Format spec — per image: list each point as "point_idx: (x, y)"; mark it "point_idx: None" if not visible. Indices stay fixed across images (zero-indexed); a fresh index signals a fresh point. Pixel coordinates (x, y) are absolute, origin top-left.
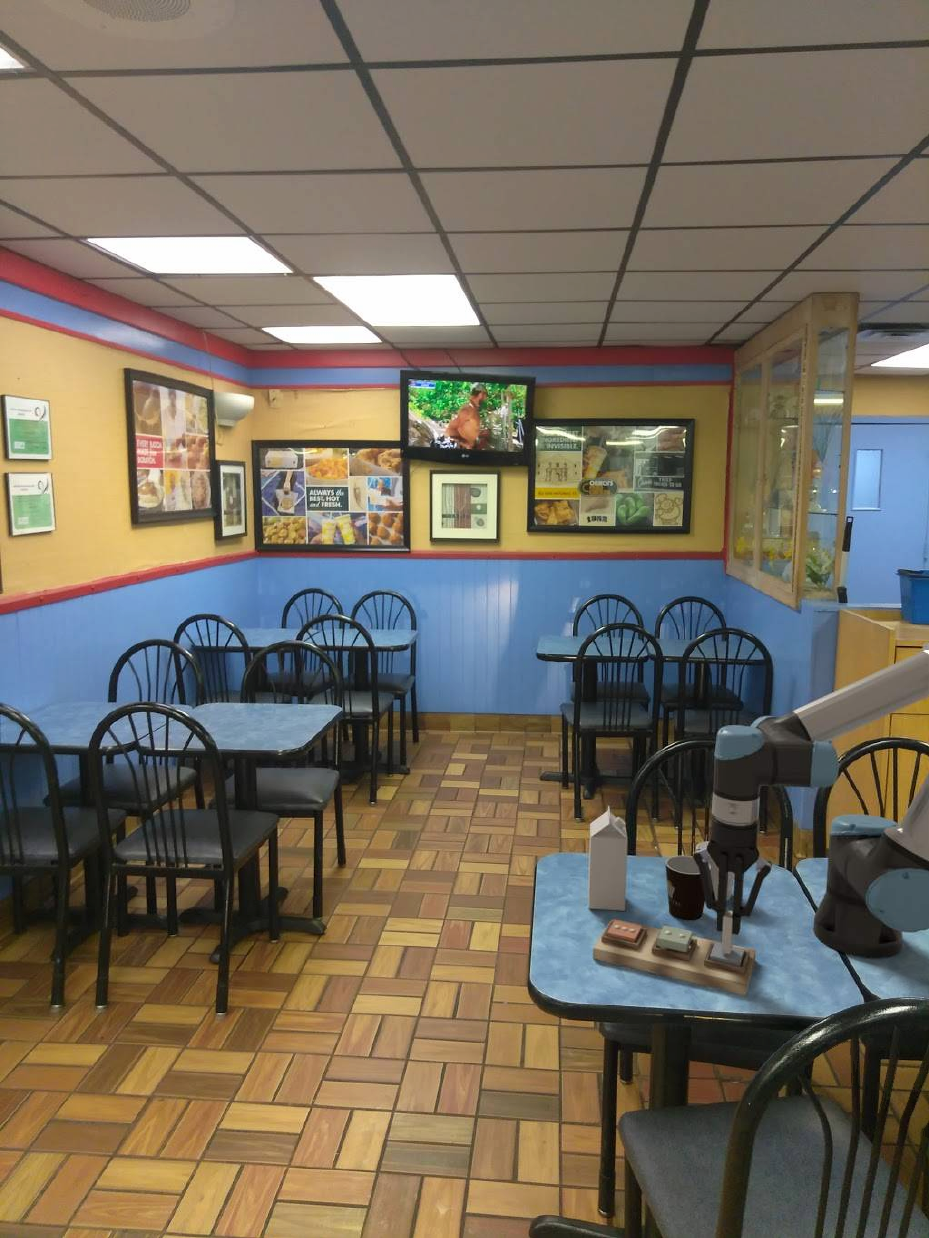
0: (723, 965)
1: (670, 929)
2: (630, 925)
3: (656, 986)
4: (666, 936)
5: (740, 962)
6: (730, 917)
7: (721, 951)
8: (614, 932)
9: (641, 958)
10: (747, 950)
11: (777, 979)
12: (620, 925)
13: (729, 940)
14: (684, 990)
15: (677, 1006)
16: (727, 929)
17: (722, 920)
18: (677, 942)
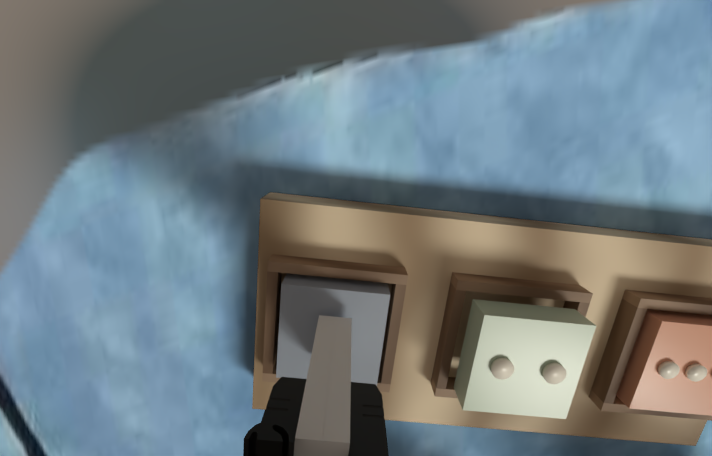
0: (340, 267)
1: (543, 398)
2: (669, 401)
3: (542, 147)
4: (560, 345)
5: (281, 285)
6: (307, 444)
7: (350, 320)
8: None
9: (615, 241)
10: (269, 381)
11: (191, 310)
12: (706, 389)
13: (319, 347)
14: (454, 154)
15: (475, 46)
16: (326, 384)
17: (354, 429)
18: (518, 318)
